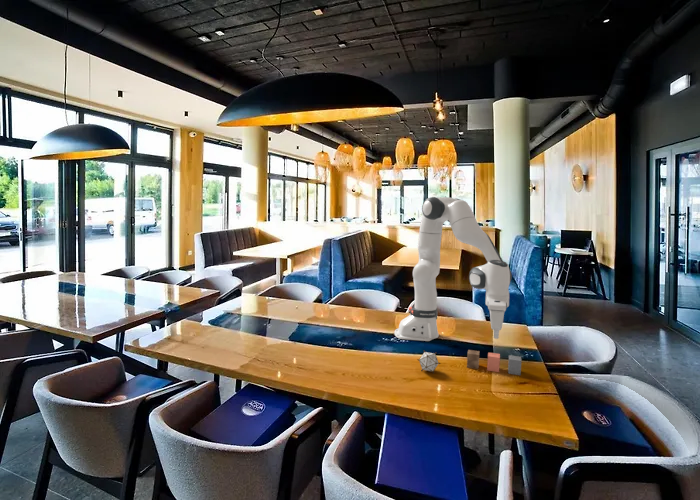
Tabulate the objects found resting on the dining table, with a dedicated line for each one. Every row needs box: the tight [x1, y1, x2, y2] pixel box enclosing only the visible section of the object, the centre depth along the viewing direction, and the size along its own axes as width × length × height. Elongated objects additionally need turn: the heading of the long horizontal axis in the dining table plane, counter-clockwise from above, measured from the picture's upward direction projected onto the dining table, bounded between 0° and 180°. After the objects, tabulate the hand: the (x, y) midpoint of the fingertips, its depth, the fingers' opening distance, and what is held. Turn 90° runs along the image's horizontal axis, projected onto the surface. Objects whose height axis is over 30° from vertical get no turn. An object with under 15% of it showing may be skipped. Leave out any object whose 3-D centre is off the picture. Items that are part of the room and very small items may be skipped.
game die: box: [416, 350, 442, 374], centre depth 158 cm, size 9×8×10 cm
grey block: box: [507, 354, 522, 376], centre depth 158 cm, size 4×4×6 cm
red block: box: [486, 352, 501, 373], centre depth 161 cm, size 4×4×6 cm
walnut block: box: [466, 349, 480, 370], centre depth 164 cm, size 4×4×6 cm
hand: (496, 334), depth 159 cm, fingers open, 8 cm apart
